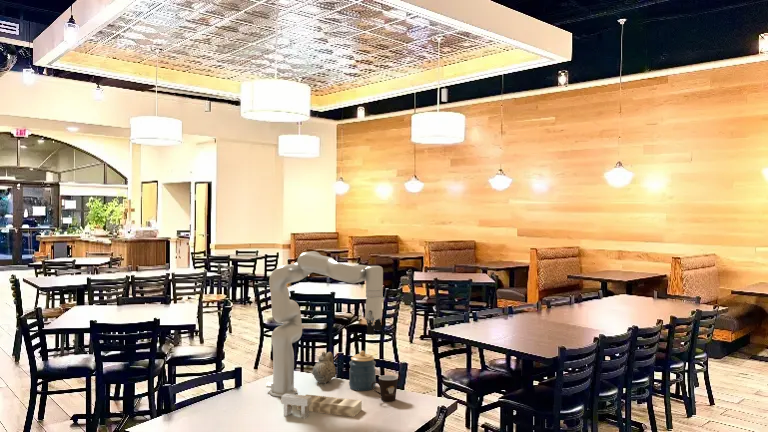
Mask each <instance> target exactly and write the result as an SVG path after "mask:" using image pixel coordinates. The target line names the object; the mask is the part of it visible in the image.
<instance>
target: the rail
mask: <svg viewBox="0 0 768 432" xmlns="http://www.w3.org/2000/svg"><path fill="white" fill-rule="evenodd" d="M304 396H312V404H310V405H309V413H310V412H313V413H318V414H319V413H321V414H328V415H338V416H345V417H352V418H353V417H355V416H357V415H358V413H360V412H361V411H362V406H363V405H362V401H363V400H360V399H350V398H341V397H333V396H331V397H330V396H326V395H325V396H324V395H314V394H305V395H304ZM296 410H297V411H301V406H299V405H296Z"/></svg>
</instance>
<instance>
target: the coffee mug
mask: <svg viewBox="0 0 768 432" xmlns="http://www.w3.org/2000/svg"><path fill="white" fill-rule="evenodd" d="M398 379H399V377H398V376H396V375H391V374H385V375H380V376H379V377H378V381H377V380H376V381H375V382H373V383H372V385H371V387H372V389H371V390H373V391H374V392H375V393H377V394H378V395H380V401H382V402H385V403H393V402H394V401H396V398H397V397H396V396H397V390H398V382H399V381H398ZM374 383H376V384H378V386H379V390H380V391H377V390H376V389H375V388H374V389H373V384H374Z"/></svg>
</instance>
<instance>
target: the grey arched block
mask: <svg viewBox="0 0 768 432" xmlns="http://www.w3.org/2000/svg"><path fill="white" fill-rule="evenodd" d="M280 401H281V402H280V404H282V405H283V417H289V416H290V415H291V414H293V407H292V406H297V405H299V406H301V410H300V411H301V412H300V419H306V418H307V417H309V416H310V411H309V405H310V404H312V396H305V395H304V394H284V395H282V396H281V397H280Z"/></svg>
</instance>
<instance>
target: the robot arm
mask: <svg viewBox="0 0 768 432" xmlns="http://www.w3.org/2000/svg"><path fill="white" fill-rule="evenodd" d="M312 273H315V274H319V275H323V276H327V277H329V278H331V279H333V280H336V281H341V282H345V283H349V284H357V283H361V282H365V298H366V300H365V308H364V309H365V311H364V312H365V313H364V319H365V321H366V335H368V336H369V335H370V336H371V335H372V336H373V335H375V331H379V332H381V331H382V316H383V303H382V299H383V297H384V296H383V294H384V293H383V292H384V290H383V289H384V286H383V285H384V269H383V267H382V266H380V265H365V264H356V265H349V264H344V263H340V262H337V261H336V260H335V259H334V257H331V256H327V255H322V254H321V253H320V252H318V251H315V250H314V251H305V252H302V253H301V254H300V255H299V256H298V258H297V260H296V262H295V263H291V264H284V265H281V266H278V267H277V268H275V269H274V270H273V271H272V272H271V274H270V277H269V278H268V279H269V282H268V284H269V290H270V302H271V313H272V314H271V315H272V318H273V319H274V321H275V322H277V323H283V324H282V325H279V326H277V327H275V328H274V329H273V331H272V332H271V344H272V359H273V360H272V362H273V363H272V367H273V369H272V376H273V377H272V379H273V380H272V382H269V381H268V382H266V385H265V388H269V389H270V390H269V394H270V396H273V397H279V398H281V396H282V395H284V394H295V395H297V393H298V389H297V388H295V384H294V383H295V375H294V374H295V371H294V370H295V369H294V368H295V359H294V358H295V355H294V354H295V353H294V347H293V344H294V343H296V342H298V341H299V340H300V339H301V337H302V335H303V325H302V324H303V323H302V313H301V308H300V306H299V304H298V303H297V301H296V300H293V299H290V290H289V288H288V286H287V285H288V284H290V283H295V282H299V281H301V280H303V279H305V278H306V277H308V276H309V275H312Z"/></svg>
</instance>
